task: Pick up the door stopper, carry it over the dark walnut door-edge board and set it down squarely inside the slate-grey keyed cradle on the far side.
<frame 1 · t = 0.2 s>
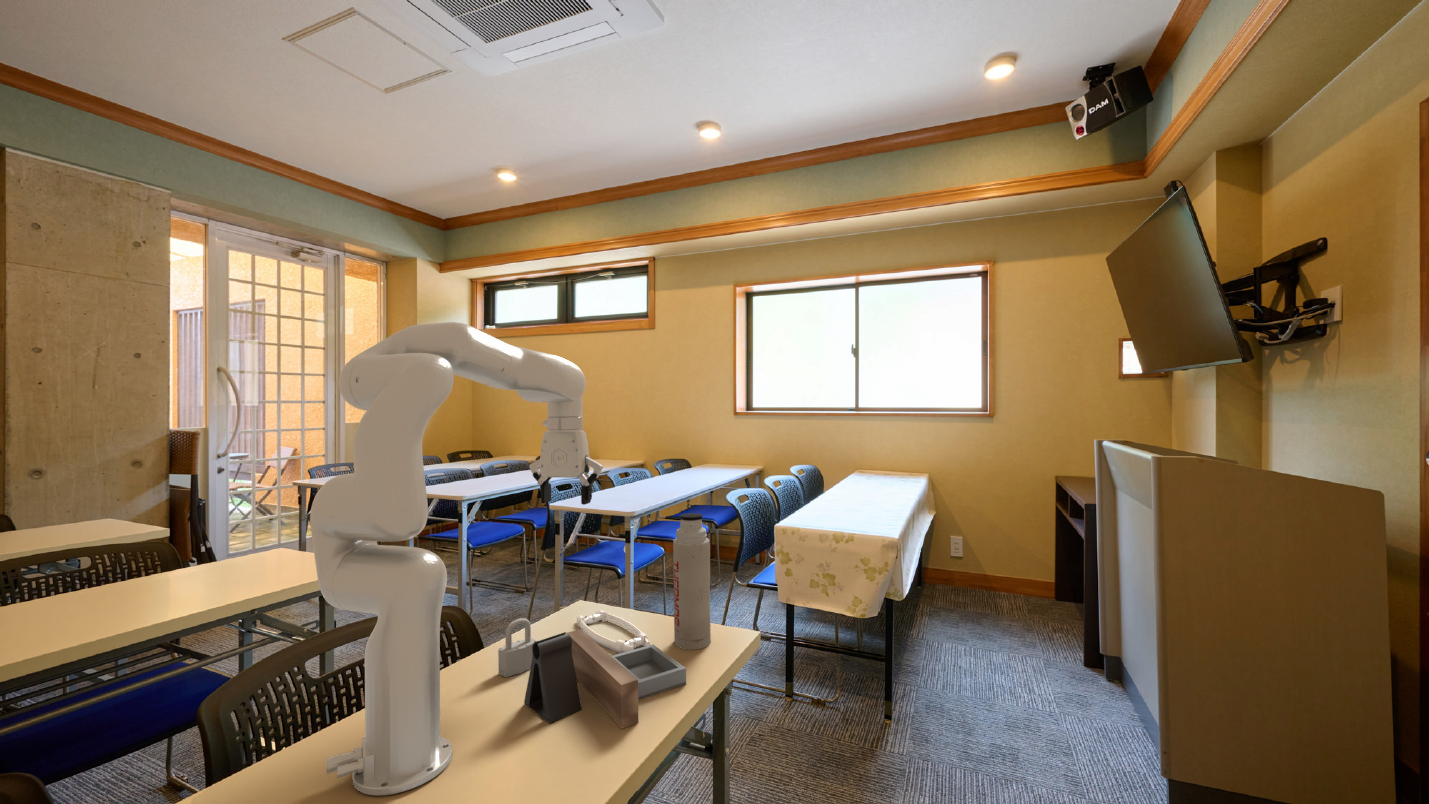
hand: (566, 502, 125), 31 cm above the table, tool pointing down, fingers open, 9 cm apart
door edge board: (599, 692, 103), on the table
keyed cradle: (646, 678, 108), on the table
door stopper: (552, 708, 98), on the table
door handle: (611, 637, 129), on the table
padlock: (518, 670, 112), on the table
thermos bottle: (692, 642, 124), on the table
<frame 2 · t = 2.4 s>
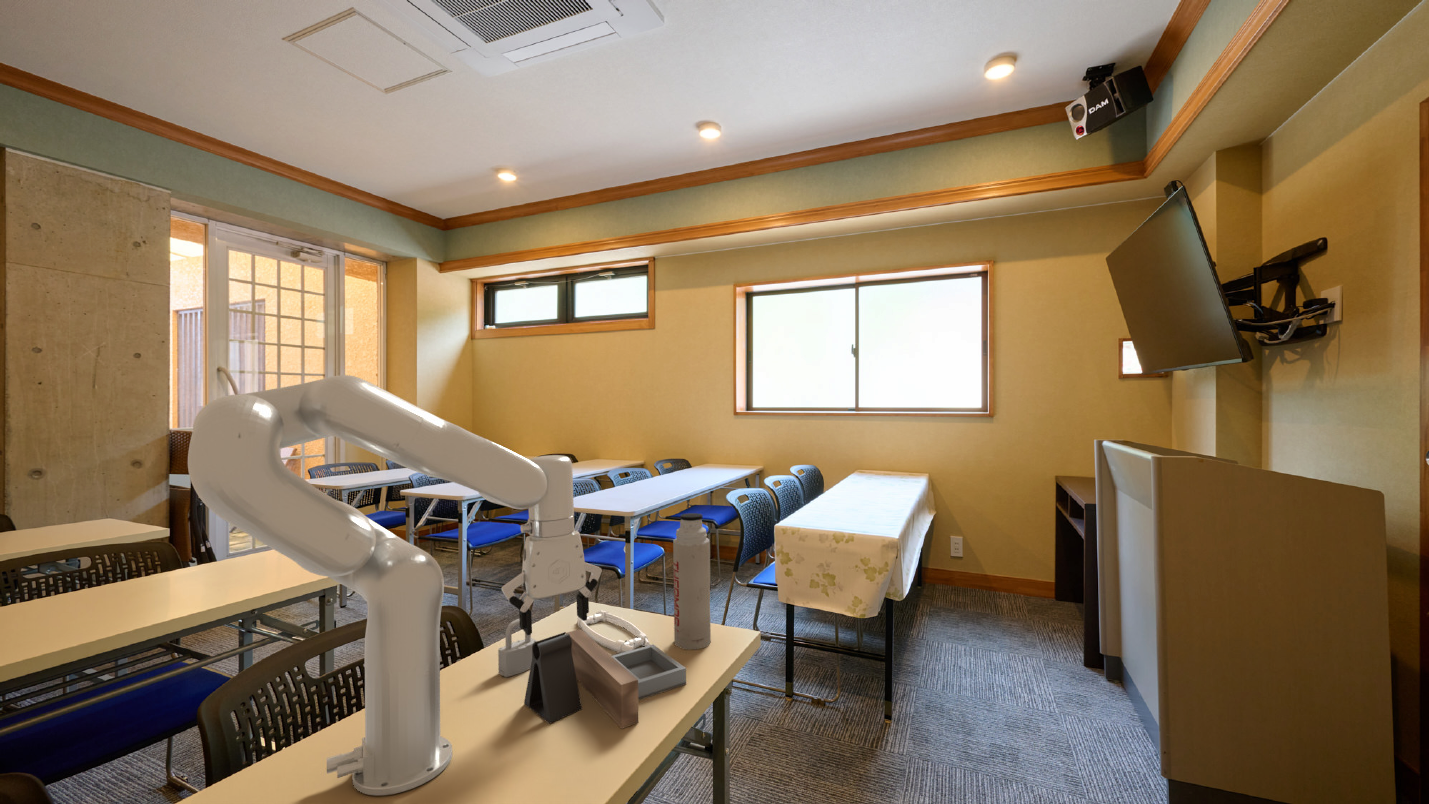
hand: (555, 625, 99), 14 cm above the table, tool pointing down, fingers open, 9 cm apart
nothing on the table moved.
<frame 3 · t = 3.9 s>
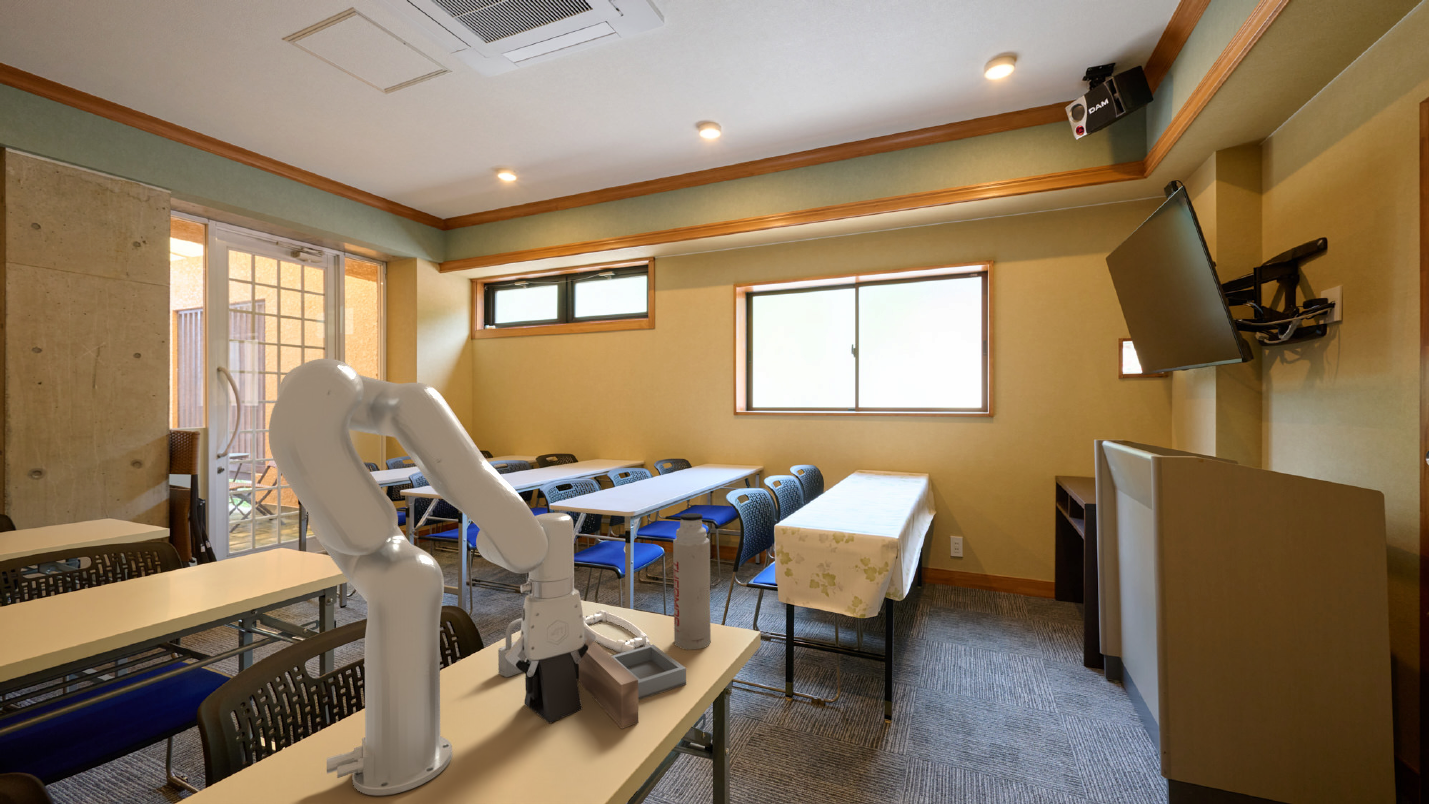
hand: (552, 689, 98), 3 cm above the table, tool pointing down, fingers closed on door stopper, 6 cm apart
door stopper: (552, 708, 98), on the table, touching gripper
everything else where it was.
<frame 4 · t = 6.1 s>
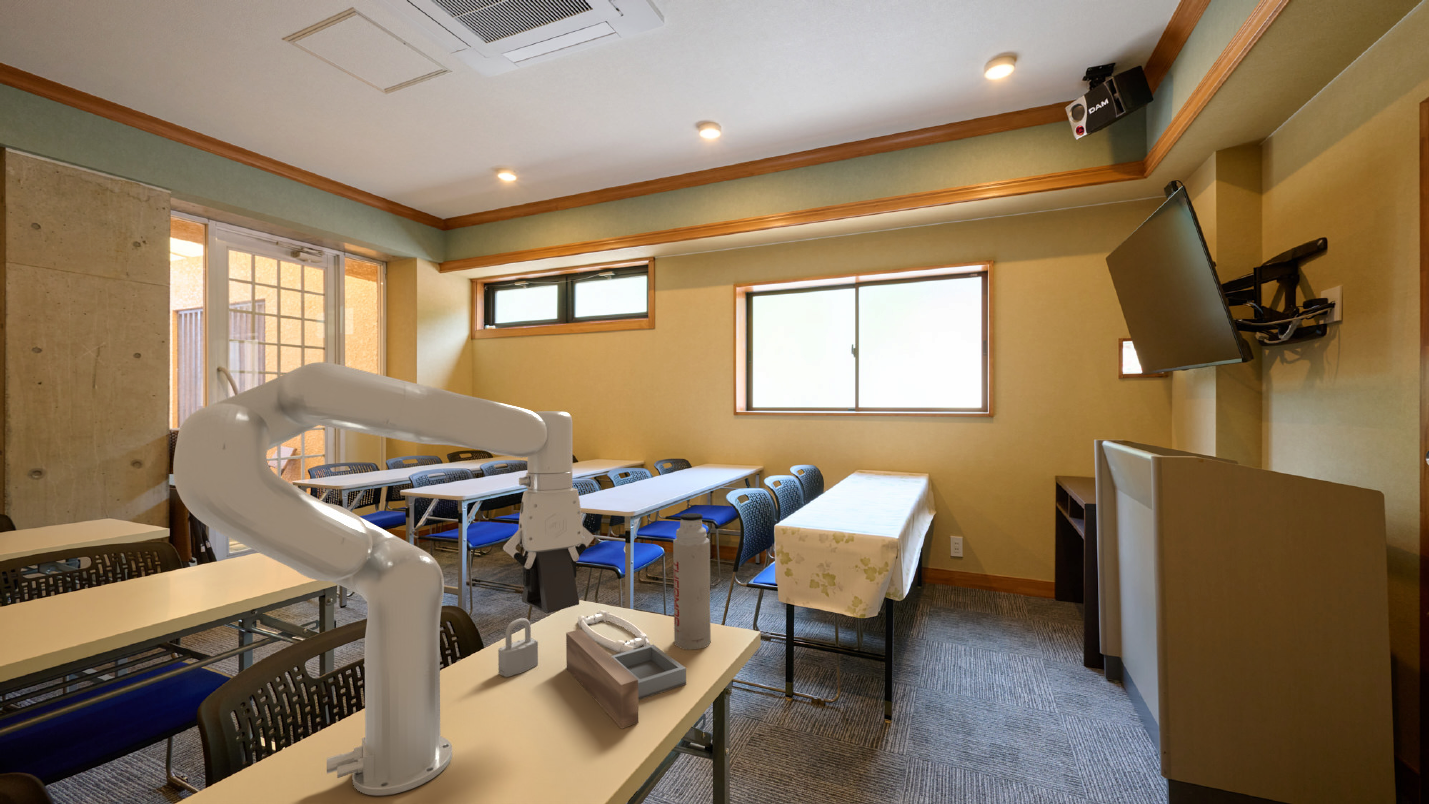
hand: (550, 585, 98), 21 cm above the table, tool pointing down, fingers closed on door stopper, 6 cm apart
door stopper: (550, 604, 98), point 18 cm above the table, touching gripper
everything else where it was.
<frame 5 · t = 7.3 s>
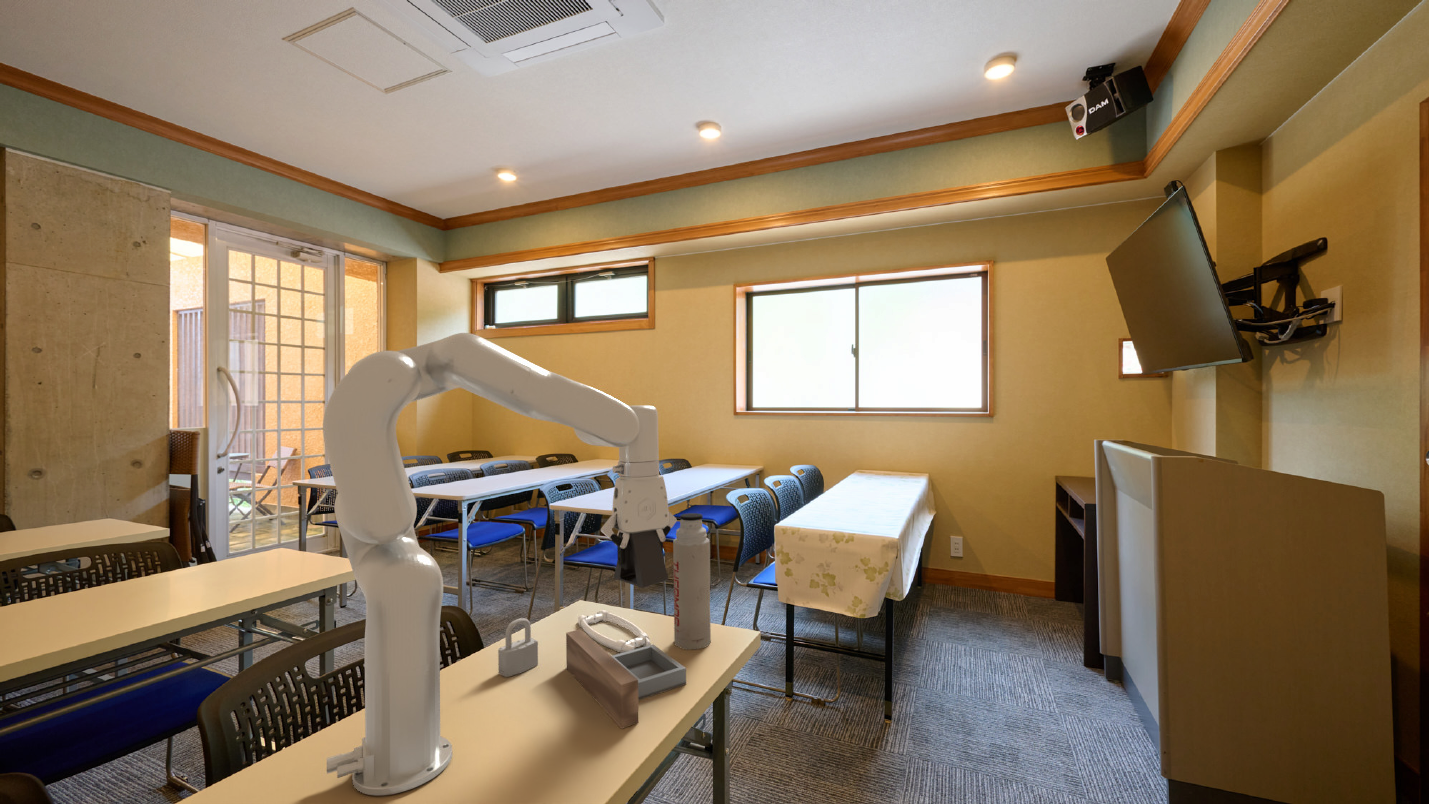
hand: (640, 563, 108), 22 cm above the table, tool pointing down, fingers closed on door stopper, 6 cm apart
door stopper: (641, 580, 108), point 19 cm above the table, touching gripper
everything else where it was.
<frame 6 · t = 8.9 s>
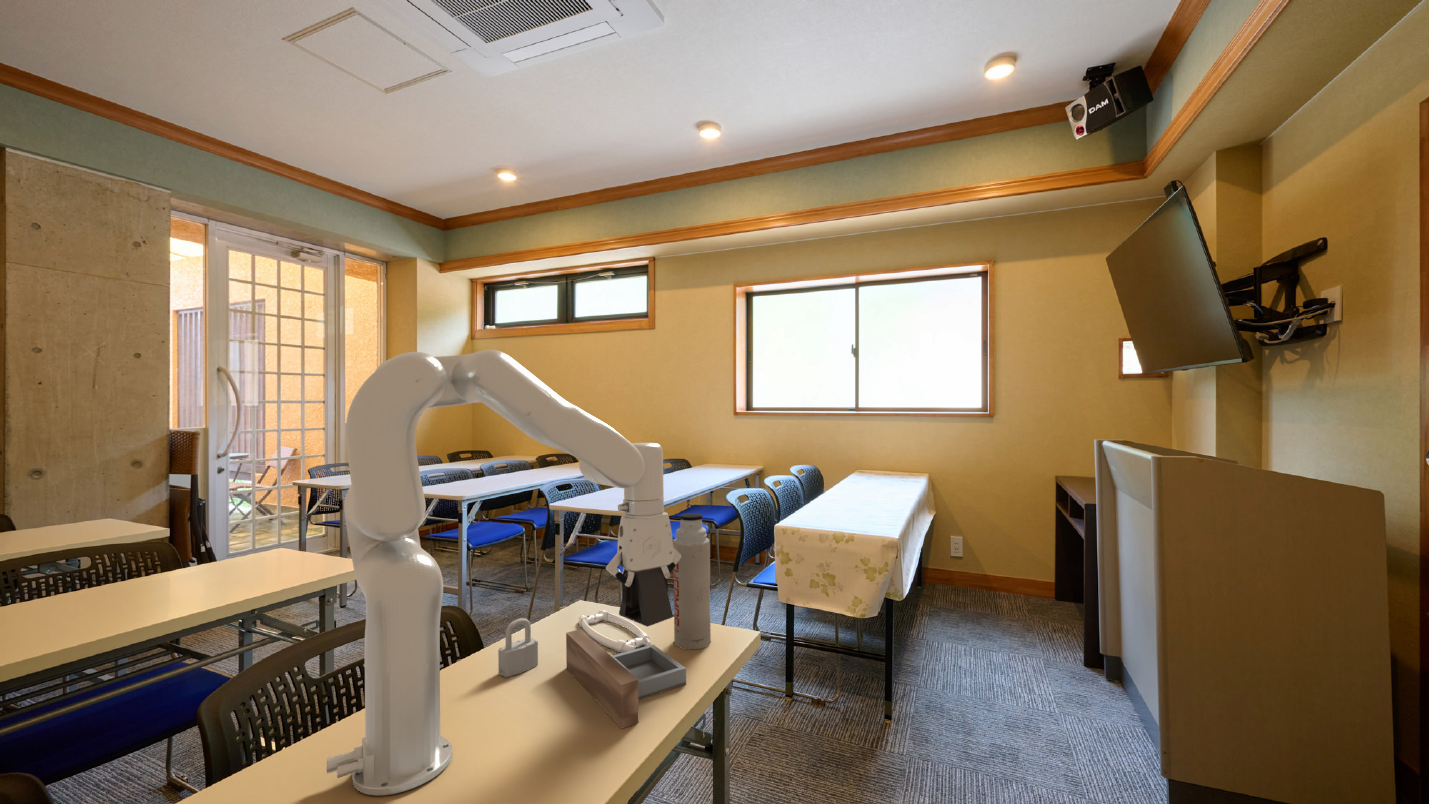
hand: (645, 600, 108), 15 cm above the table, tool pointing down, fingers closed on door stopper, 6 cm apart
door stopper: (645, 617, 108), point 11 cm above the table, touching gripper
everything else where it was.
when the fingers open (5 cm above the table, at t = 11.1 s): door stopper drops 1 cm, resting on keyed cradle.
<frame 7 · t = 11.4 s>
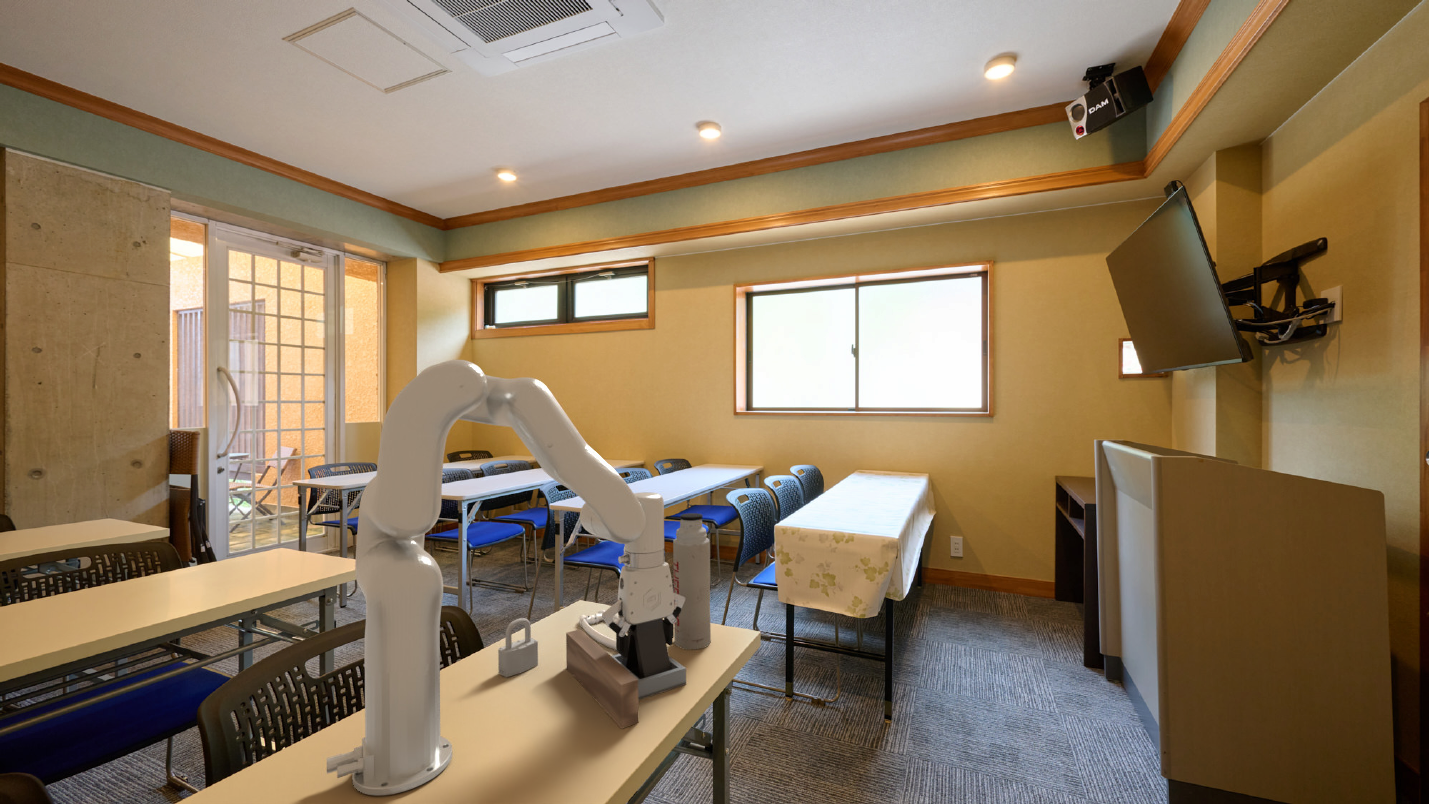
hand: (645, 648, 108), 6 cm above the table, tool pointing down, fingers open, 9 cm apart
door stopper: (646, 676, 108), resting on keyed cradle
everything else where it was.
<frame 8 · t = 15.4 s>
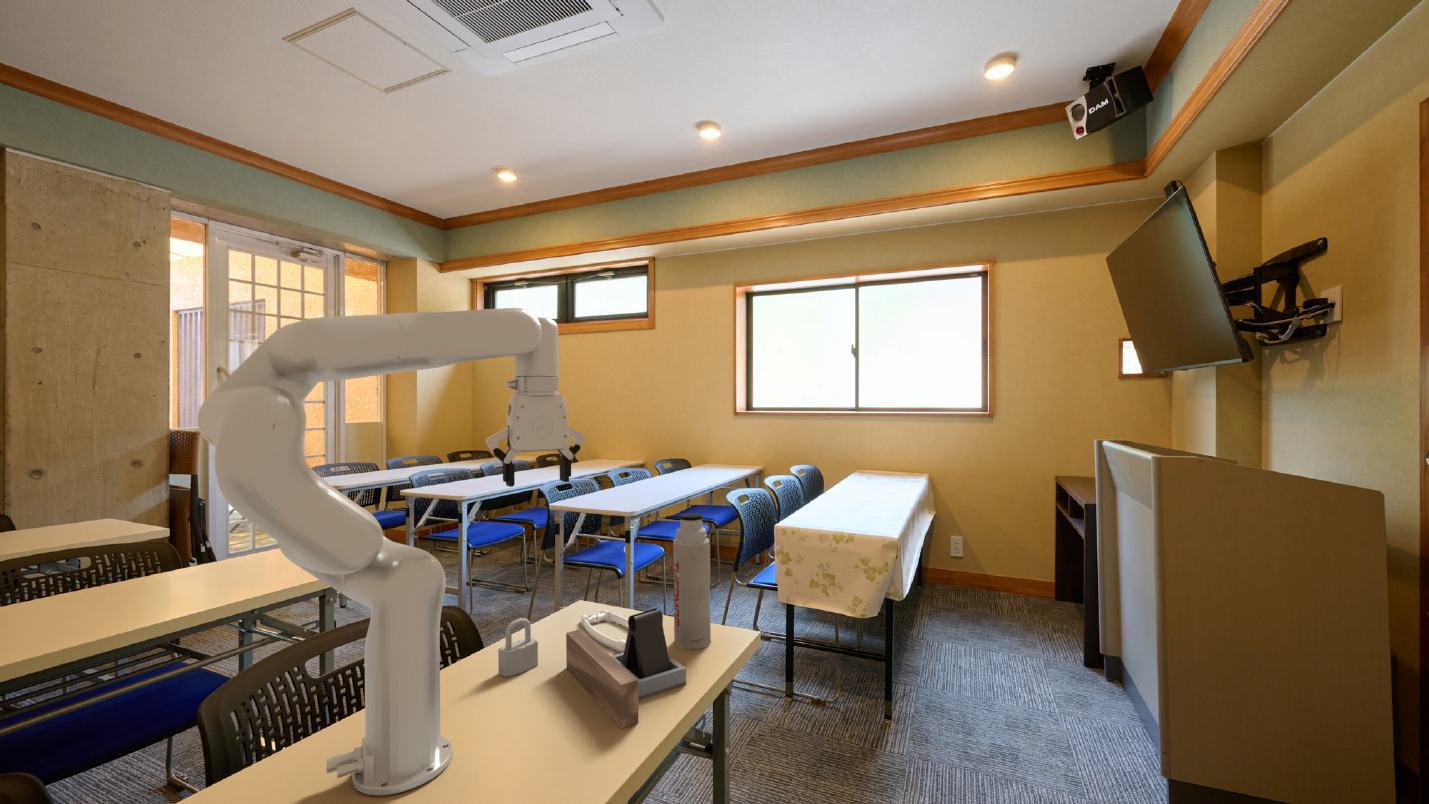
hand: (537, 483, 101), 38 cm above the table, tool pointing down, fingers open, 9 cm apart
nothing on the table moved.
at the end: door stopper 0.0 cm off-centre on the keyed cradle, point 0.3 cm above the keyed cradle's base; door stopper tilted 0°; the gripper is holding nothing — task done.
